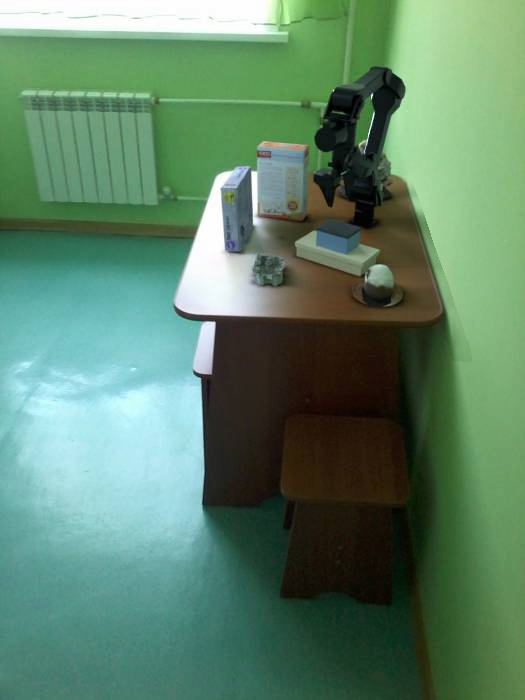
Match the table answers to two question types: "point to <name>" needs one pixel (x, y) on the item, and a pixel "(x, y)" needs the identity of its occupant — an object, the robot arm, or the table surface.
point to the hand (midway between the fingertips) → (339, 201)
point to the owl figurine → (383, 171)
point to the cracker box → (282, 180)
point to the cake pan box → (237, 208)
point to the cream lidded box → (337, 255)
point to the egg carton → (268, 269)
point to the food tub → (338, 236)
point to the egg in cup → (377, 288)
